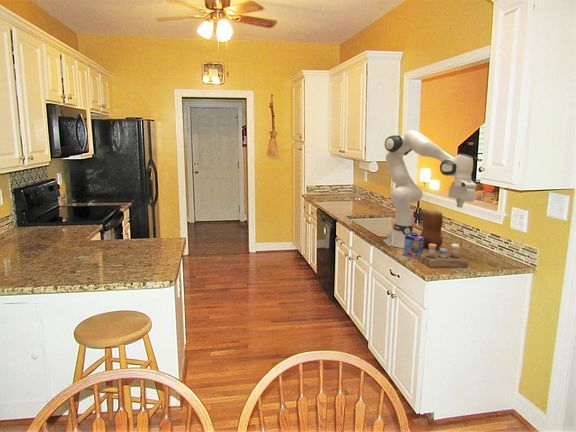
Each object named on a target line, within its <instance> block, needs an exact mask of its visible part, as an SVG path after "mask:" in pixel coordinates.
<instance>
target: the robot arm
mask: <svg viewBox="0 0 576 432" xmlns="http://www.w3.org/2000/svg"><path fill="white" fill-rule="evenodd" d="M384 149H385V150H386V151H387V154H386V155H385V163H386V166H387V170H388V172H389V176H390V179H391V181H392V182H393V184H395V185H396V187H394V188H392V189H391V190H390V192H389V198H390V200H391V202H393V205H394V209H395V219H394V223H393V225H392V226H393V227H392V229H391V230H390V231H389V232H388V233H387V234H386V239H385V238H384V239H383V242H384V244H385V245H386V246H388V247H395V248H399V249H404V244H405V235H408V234H410V235H411V232H413V229H414V225H413V223H414V212H413V210H412V209H411V205H410V204H415V203H417V202H419V201H421V200H422V199H423V196H424V195H423V193H424V192H423V190H422V188H421V187H420V186H418V185H417V184H416V183H415V182H414V180H413V179H412V177H411V176H410V174H409V171H408V169H407V165H406V163H405V161H404V156H407V155H408V154H409V153H410V152H414V153H416V154H417V155H419V156H421V157H427V158H432V159H436V160H438V161H440V164H439V171H440V173H441V174H442V175H443V176H447V177H454V181H452V182H451V185H450V186H449V190H448V197H449V198H452V199H455V201H456V207H457V208H460V209H461V208H463V206H464V203H466V202H474V201H475V198H476V188H477V184H476V182H474V181H473V180H472V173H473V168H474V159H473V156H472V155H469V154H465V153H458V154H457V155H455V156H454V155H452V154H451V153H449V152H448V151H446V150H444V149H443V148H441V147H440V146H439V145H437V144H436V143H435V142H434V141H432V140H431V139H430V138H429V137H427V136H426V135H425V134H423V133H422V132H420V131H417V130H416V129H409V130H408V131H406V132H405V134H404V135H401V134H399V135H390V136H387V138H386V139H385V141H384Z"/></svg>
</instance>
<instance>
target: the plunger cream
mask: <svg viewBox="0 0 576 432" xmlns="http://www.w3.org/2000/svg"><path fill="white" fill-rule="evenodd" d="M450 247H451V253H450V254H451V257H457V256H458V253H459V249H460V244H458V243H451V246H450Z"/></svg>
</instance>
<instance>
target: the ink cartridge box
mask: <svg viewBox="0 0 576 432" xmlns="http://www.w3.org/2000/svg"><path fill="white" fill-rule="evenodd" d="M423 244H424V237H421V236H420V235H418V232H413V231H412V232H411V235H410V234H408V235H405V244H404V248H403V256H406V257H411V258H415V259H418V254H424V246H423Z"/></svg>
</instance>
